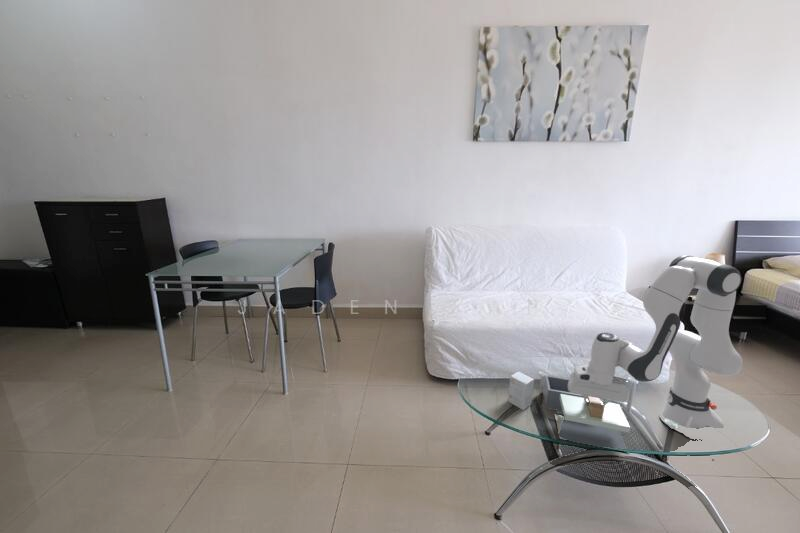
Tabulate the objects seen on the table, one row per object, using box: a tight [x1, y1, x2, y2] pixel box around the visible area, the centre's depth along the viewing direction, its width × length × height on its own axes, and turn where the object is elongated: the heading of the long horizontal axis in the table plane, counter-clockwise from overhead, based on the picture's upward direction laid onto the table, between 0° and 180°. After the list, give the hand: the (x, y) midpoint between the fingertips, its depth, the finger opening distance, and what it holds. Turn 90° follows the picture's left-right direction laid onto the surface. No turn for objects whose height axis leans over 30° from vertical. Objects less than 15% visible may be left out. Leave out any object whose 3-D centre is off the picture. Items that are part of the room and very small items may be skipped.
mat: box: [557, 419, 628, 449], centre depth 141 cm, size 24×15×1 cm, turn 74°
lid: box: [560, 394, 631, 433], centre depth 138 cm, size 22×14×6 cm, turn 74°
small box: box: [507, 371, 535, 411], centre depth 156 cm, size 8×6×13 cm
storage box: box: [542, 374, 601, 412], centre depth 157 cm, size 20×12×9 cm, turn 74°
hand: (593, 405), depth 138 cm, fingers closed on lid, 4 cm apart
